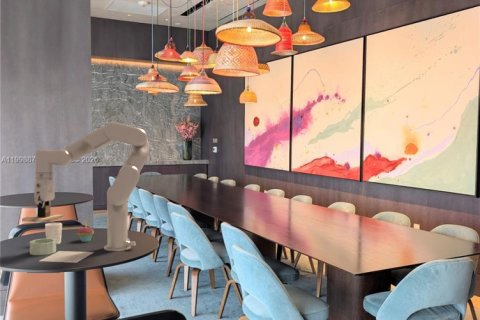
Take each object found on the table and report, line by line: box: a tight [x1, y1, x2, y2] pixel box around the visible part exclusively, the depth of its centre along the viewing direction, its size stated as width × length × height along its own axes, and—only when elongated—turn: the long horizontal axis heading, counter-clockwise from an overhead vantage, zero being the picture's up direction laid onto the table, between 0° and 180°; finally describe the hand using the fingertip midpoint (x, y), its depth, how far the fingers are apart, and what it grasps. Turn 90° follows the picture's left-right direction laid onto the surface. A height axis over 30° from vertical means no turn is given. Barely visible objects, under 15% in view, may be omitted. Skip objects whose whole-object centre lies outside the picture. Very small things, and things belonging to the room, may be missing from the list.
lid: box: [21, 205, 65, 223], centre depth 193 cm, size 13×13×6 cm
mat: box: [39, 250, 95, 264], centre depth 187 cm, size 17×17×1 cm
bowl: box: [29, 237, 57, 256], centre depth 194 cm, size 11×11×6 cm
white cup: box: [44, 222, 63, 245], centre depth 212 cm, size 8×8×10 cm
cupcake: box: [76, 219, 95, 243], centre depth 219 cm, size 9×8×12 cm
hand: (43, 215), depth 193 cm, fingers closed on lid, 4 cm apart
